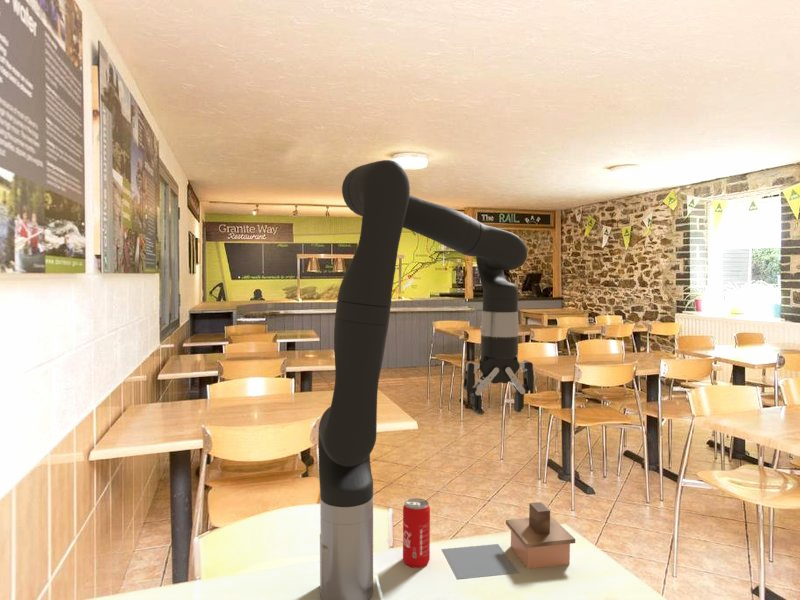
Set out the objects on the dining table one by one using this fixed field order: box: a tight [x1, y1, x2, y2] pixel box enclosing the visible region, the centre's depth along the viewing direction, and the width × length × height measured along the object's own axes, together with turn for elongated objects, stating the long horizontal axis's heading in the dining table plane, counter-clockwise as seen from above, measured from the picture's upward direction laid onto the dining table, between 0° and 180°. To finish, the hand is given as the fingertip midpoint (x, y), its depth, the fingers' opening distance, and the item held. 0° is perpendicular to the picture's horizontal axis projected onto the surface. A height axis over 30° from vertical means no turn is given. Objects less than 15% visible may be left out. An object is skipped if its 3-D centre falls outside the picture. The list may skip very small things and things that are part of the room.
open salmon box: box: [510, 530, 571, 569], centre depth 108 cm, size 8×8×5 cm
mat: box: [441, 543, 520, 580], centre depth 106 cm, size 12×11×1 cm
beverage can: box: [402, 497, 431, 569], centre depth 105 cm, size 5×5×12 cm
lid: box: [505, 501, 576, 548], centre depth 108 cm, size 10×10×5 cm
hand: (498, 411), depth 112 cm, fingers open, 8 cm apart
